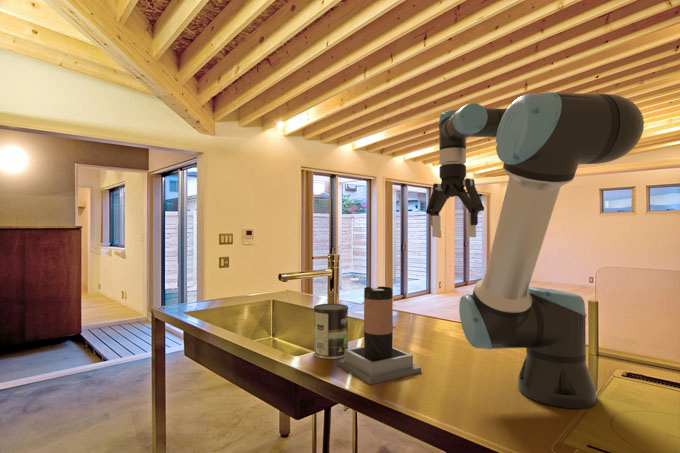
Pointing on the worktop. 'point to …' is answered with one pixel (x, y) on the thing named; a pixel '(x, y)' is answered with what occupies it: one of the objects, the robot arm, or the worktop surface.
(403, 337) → the worktop surface
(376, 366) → the dock
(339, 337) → the coffee can
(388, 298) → the travel mug
